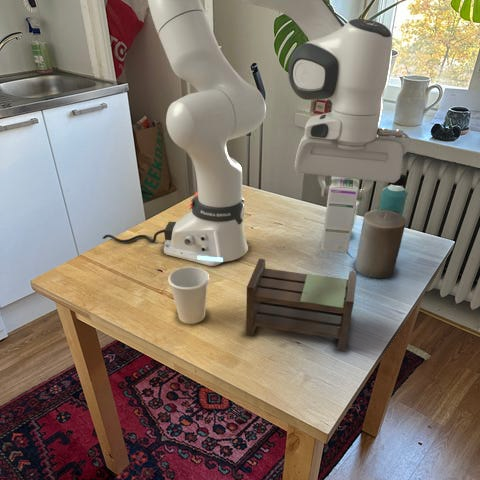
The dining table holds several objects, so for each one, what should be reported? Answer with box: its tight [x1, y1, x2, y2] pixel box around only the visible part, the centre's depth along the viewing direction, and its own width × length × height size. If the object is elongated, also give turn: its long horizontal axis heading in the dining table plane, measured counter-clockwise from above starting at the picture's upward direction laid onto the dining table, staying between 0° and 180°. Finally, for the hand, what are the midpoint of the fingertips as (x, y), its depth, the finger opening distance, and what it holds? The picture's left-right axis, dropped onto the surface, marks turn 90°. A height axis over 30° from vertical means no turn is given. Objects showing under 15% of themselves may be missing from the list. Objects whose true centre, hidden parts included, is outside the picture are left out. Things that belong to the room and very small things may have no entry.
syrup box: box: [320, 176, 360, 254], centre depth 94 cm, size 6×6×14 cm
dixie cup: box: [167, 266, 210, 325], centre depth 95 cm, size 8×8×10 cm
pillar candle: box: [354, 209, 407, 279], centre depth 109 cm, size 10×10×15 cm
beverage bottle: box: [377, 172, 409, 216], centre depth 116 cm, size 6×7×20 cm
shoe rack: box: [245, 258, 358, 352], centre depth 91 cm, size 20×11×12 cm, turn 76°
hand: (342, 197), depth 92 cm, fingers closed on syrup box, 6 cm apart
